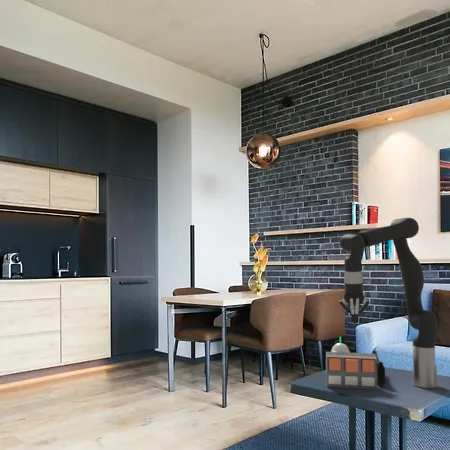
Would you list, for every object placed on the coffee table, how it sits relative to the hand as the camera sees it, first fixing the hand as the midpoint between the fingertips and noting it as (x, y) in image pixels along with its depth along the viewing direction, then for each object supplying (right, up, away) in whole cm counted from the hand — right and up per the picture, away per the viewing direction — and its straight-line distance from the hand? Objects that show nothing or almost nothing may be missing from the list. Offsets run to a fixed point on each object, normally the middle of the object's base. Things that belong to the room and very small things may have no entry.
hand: (354, 322), depth 206 cm
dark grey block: (0, -30, +8) cm, 30 cm away
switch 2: (0, -22, +5) cm, 22 cm away
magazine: (+16, -31, +22) cm, 41 cm away
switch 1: (-7, -22, +8) cm, 24 cm away
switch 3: (+7, -22, +5) cm, 24 cm away
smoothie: (-2, -30, +17) cm, 35 cm away
